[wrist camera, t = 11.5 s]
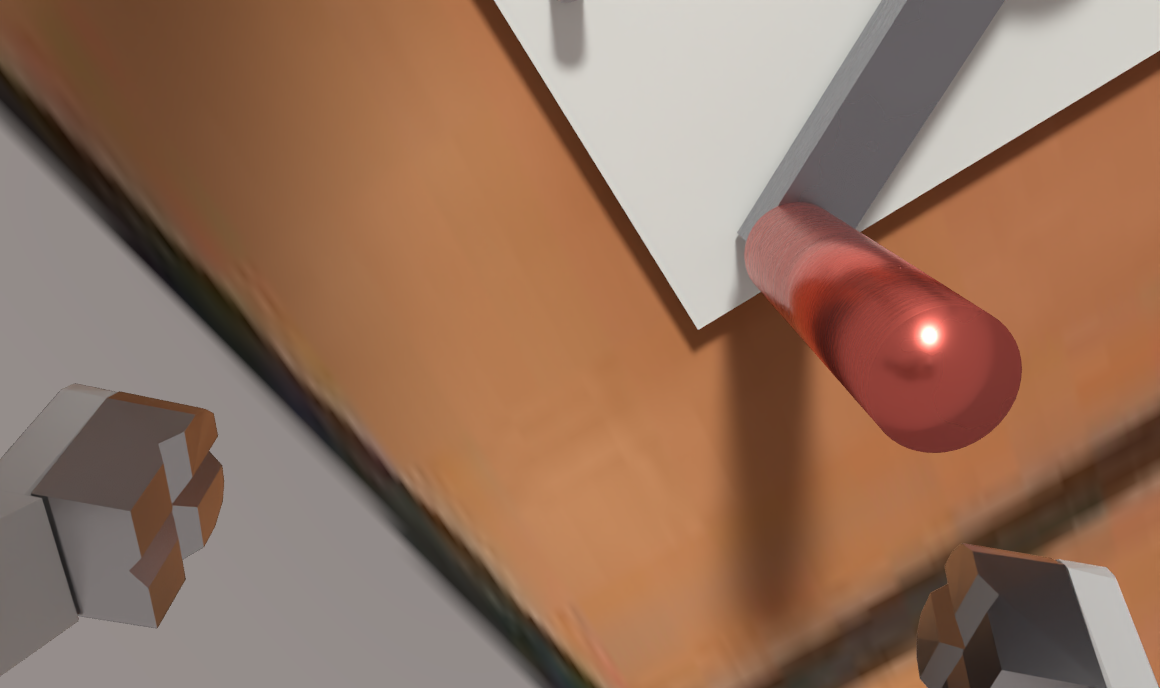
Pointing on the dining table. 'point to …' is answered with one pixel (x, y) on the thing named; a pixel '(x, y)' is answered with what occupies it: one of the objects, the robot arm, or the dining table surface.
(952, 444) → the lever
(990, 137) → the cracker base
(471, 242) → the dining table surface
